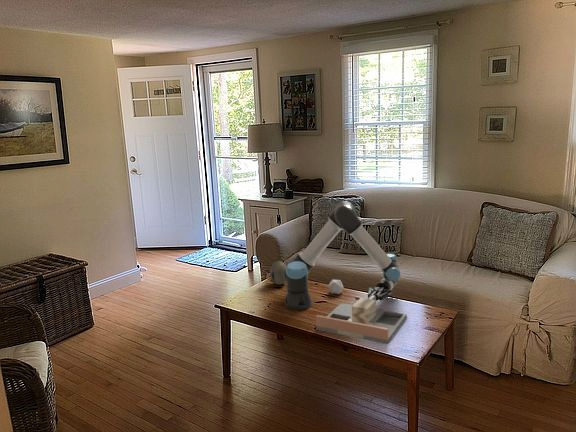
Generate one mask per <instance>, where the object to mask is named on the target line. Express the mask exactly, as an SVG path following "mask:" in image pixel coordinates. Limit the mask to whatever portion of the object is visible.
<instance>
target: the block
mask: <svg viewBox="0 0 576 432" xmlns="http://www.w3.org/2000/svg"><path fill="white" fill-rule="evenodd" d="M352 305H353V306H352V321H353V322H358V323H363V324H368V323H369V322H370V321H371V320H372V319H373V318H374V317H375V316H376V309H377V301H376V300H373V299H368V297H367V298H365V297H360V298H359V299H358V300H357V301H356V302H355V303H354V304H352Z"/></svg>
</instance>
